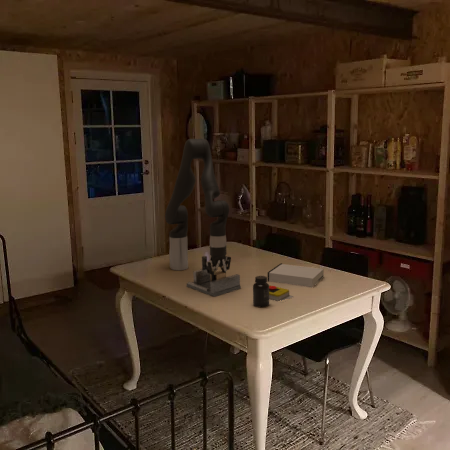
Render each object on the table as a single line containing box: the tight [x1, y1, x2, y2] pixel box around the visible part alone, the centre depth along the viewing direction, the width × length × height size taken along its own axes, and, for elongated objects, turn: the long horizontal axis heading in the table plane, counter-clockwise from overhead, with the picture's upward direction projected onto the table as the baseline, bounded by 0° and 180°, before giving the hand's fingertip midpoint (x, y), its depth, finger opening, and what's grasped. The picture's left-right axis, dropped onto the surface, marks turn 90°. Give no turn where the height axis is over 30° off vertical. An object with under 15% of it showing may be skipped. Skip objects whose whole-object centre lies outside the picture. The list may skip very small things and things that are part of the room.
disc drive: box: [267, 263, 325, 288], centre depth 247 cm, size 18×22×5 cm
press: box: [186, 273, 242, 298], centre depth 236 cm, size 20×16×6 cm
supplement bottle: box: [252, 275, 270, 308], centre depth 213 cm, size 7×7×12 cm
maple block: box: [211, 270, 227, 281], centre depth 233 cm, size 5×5×6 cm
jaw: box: [192, 255, 215, 284], centre depth 240 cm, size 2×12×12 cm, turn 132°
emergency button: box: [269, 284, 294, 302], centre depth 224 cm, size 9×4×15 cm
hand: (218, 280), depth 233 cm, fingers closed on maple block, 5 cm apart
